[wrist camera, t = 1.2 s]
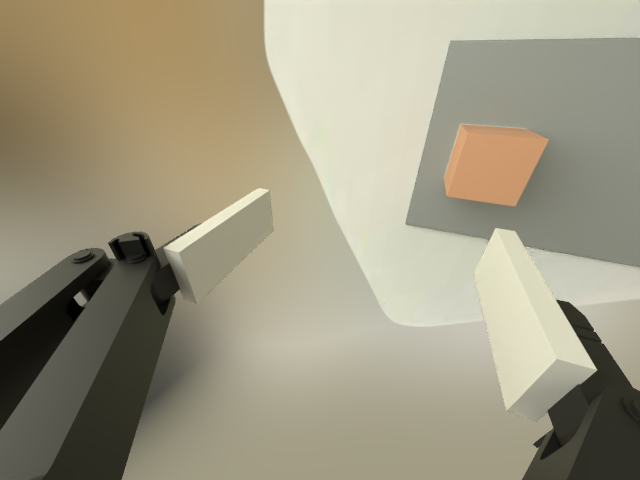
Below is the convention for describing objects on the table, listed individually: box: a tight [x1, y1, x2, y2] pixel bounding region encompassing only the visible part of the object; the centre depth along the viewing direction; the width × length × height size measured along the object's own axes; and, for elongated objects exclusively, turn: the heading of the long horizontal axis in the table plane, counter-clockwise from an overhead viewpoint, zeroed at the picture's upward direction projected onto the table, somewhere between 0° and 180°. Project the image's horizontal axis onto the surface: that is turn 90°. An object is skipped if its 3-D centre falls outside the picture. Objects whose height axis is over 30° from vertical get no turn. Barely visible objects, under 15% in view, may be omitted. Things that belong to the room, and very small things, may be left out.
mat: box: [406, 38, 640, 267], centre depth 25 cm, size 20×28×1 cm
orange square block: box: [444, 124, 549, 206], centre depth 25 cm, size 6×6×6 cm
